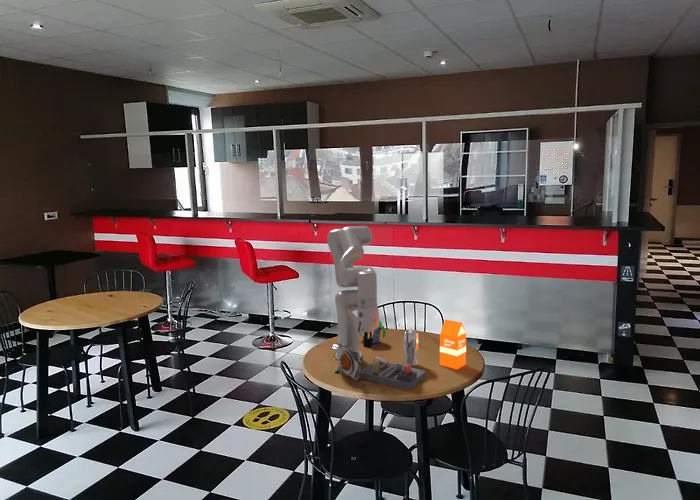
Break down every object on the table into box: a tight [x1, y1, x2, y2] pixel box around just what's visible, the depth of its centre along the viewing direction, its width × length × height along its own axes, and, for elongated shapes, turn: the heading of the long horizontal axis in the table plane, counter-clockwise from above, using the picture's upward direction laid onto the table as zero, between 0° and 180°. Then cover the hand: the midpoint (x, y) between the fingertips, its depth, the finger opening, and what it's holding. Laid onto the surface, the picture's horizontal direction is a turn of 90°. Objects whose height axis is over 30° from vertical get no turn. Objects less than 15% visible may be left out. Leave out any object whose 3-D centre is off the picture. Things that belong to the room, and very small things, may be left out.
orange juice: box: [439, 318, 467, 370], centre depth 230 cm, size 8×9×20 cm
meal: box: [334, 342, 363, 383], centre depth 219 cm, size 15×4×13 cm, turn 38°
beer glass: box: [402, 328, 420, 367], centre depth 232 cm, size 7×7×15 cm
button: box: [403, 364, 412, 375], centre depth 210 cm, size 3×3×4 cm
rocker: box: [373, 355, 389, 364], centre depth 227 cm, size 6×2×1 cm, turn 56°
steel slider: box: [395, 361, 405, 372], centre depth 218 cm, size 3×2×3 cm, turn 56°
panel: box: [359, 361, 427, 391], centre depth 218 cm, size 24×16×5 cm, turn 56°
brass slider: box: [372, 358, 381, 374], centre depth 216 cm, size 3×2×6 cm, turn 56°
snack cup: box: [358, 320, 387, 345], centre depth 263 cm, size 16×10×10 cm
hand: (368, 347), depth 208 cm, fingers closed
